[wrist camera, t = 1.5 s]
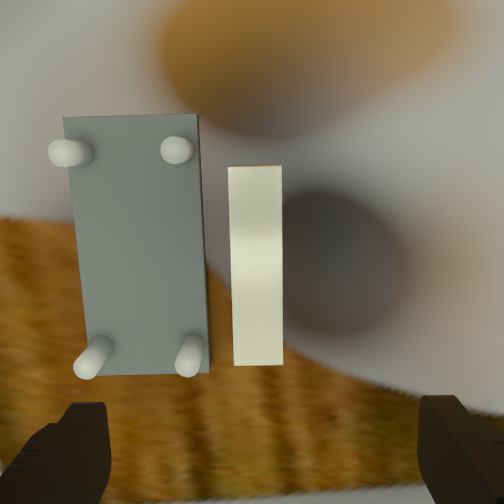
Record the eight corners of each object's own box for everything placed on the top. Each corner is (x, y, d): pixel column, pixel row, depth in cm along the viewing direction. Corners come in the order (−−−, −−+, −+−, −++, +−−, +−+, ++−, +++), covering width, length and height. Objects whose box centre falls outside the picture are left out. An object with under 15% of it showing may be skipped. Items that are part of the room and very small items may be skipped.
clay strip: (230, 165, 28) (227, 167, 26) (279, 164, 28) (281, 166, 26) (235, 348, 31) (234, 365, 29) (280, 347, 31) (282, 364, 29)
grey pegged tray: (69, 118, 27) (39, 113, 24) (198, 114, 27) (189, 109, 23) (96, 368, 31) (73, 400, 27) (210, 365, 31) (204, 397, 27)
